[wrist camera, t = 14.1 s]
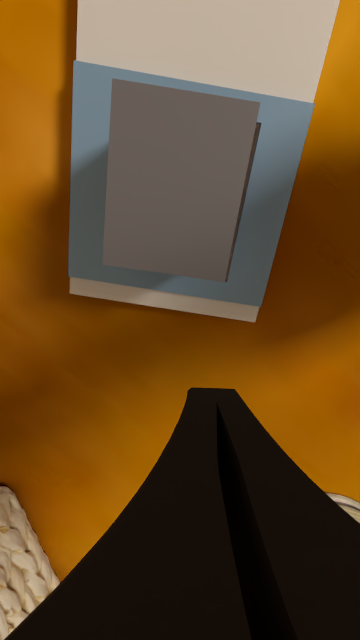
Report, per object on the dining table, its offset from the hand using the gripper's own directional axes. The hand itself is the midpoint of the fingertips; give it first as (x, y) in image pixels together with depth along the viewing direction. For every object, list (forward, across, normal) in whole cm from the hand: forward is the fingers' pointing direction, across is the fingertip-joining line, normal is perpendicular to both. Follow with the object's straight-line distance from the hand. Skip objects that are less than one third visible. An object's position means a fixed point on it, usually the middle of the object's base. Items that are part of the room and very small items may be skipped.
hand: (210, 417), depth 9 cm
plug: (+10, +1, -6) cm, 11 cm away
